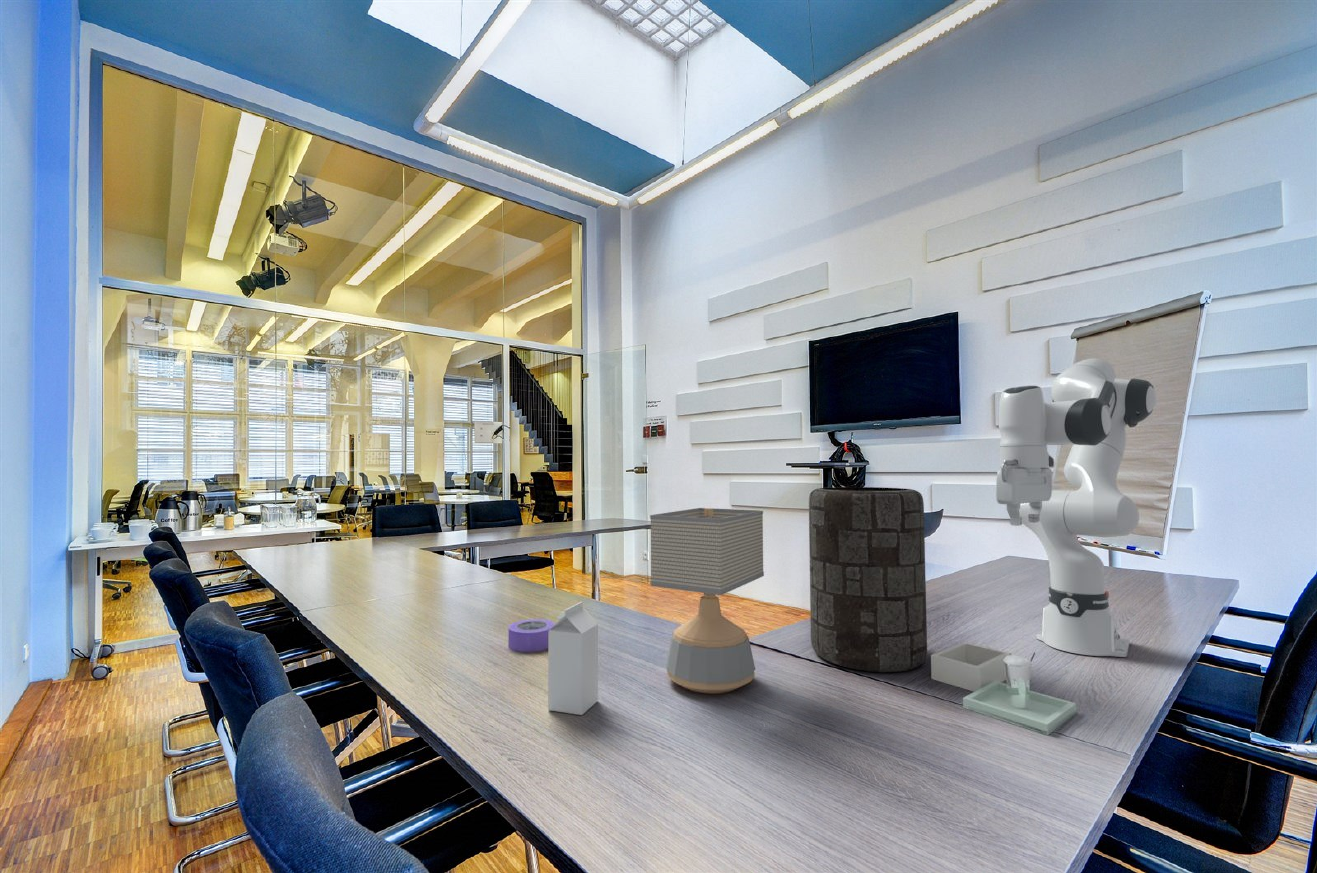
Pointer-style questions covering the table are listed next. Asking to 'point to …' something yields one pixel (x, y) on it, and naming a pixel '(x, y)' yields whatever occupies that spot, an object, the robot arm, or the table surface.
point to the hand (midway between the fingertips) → (1025, 523)
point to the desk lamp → (708, 591)
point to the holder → (968, 666)
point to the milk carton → (573, 662)
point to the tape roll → (529, 635)
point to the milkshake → (1018, 680)
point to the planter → (868, 577)
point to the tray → (1038, 717)
